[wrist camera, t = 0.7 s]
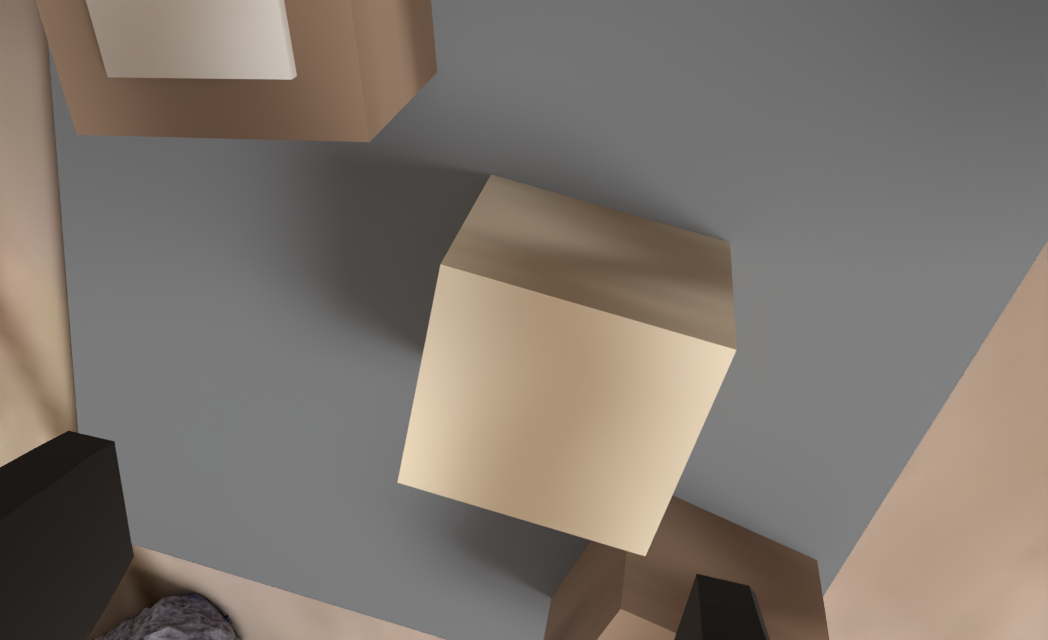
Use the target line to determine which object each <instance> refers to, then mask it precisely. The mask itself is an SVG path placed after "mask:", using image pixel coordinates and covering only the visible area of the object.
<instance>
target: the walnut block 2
mask: <svg viewBox="0 0 1048 640" xmlns="http://www.w3.org/2000/svg"><path fill="white" fill-rule="evenodd" d="M696 574H700V575H705V576H709V577H714V578H718V579H722V580H727V581H731V582H736V583H740V584H744V585H749V586H750V587H751V589H752V590H753V591H754V593H755V594H756V597H757V600H758V604H759V607H760V610H761V613H762V617H763V620H764V623H765V626H766V629H767V632H768V635H769V638H770V640H829V635H828V629H827V622H826V615H825V608H824V602H823V595H822V588H821V582H820V575H819V568H818V562H817V560H815V559H813V558H811V557H809V556H806V555H804V554H802V553H800V552H798V551H795V550H793V549H791V548H789V547H786V546H784V545H782V544H780V543H777V542H775V541H773V540H771V539H769V538H766V537H764V536H762V535H760V534H757V533H755V532H753V531H751V530H749V529H746V528H744V527H742V526H740V525H737V524H735V523H733V522H731V521H729V520H726V519H724V518H722V517H720V516H717V515H715V514H713V513H711V512H709V511H706V510H704V509H702V508H700V507H697V506H695V505H693V504H691V503H689V502H686V501H684V500H682V499H680V498H677V497H675V496H673V495H672V497H671V500H670V502H669V504H668V506H667V509H666V511H665V513H664V515H663V518H662V520H661V522H660V524H659V527H658V529H657V531H656V533H655V536H654V538H653V540H652V543H651V545H650V547H649V549H648V552H647V554H646V556H642V555H639V554H636V553H632V552H629V551H625V550H622V549H619V548H615V547H612V546H609V545H605V544H602V543H599V542H595V541H592V540H591V541H590V543H589V544H588V546H587V547H586V549H585V550H584V551H583V553H582V554H581V556H580V557H579V559H578V560H577V562H576V563H575V565H574V566H573V567H572V569H571V570H570V572H569V573H568V575H567V576H566V578H565V579H564V581H563V582H562V583H561V585H560V586H559V588H558V589H557V591H556V592H555V594H554V595H553V597H552V598H551V603H550V608H549V613H548V618H547V624H546V629H545V634H544V640H674V639H675V636H676V633H677V630H678V627H679V624H680V621H681V618H682V615H683V612H684V609H685V606H686V603H687V600H688V598H689V595H690V592H691V589H692V586H693V583H694V580H695V577H696Z"/></svg>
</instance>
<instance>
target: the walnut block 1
mask: <svg viewBox="0 0 1048 640" xmlns="http://www.w3.org/2000/svg"><path fill="white" fill-rule="evenodd" d="M35 2H36V5H37V9H38V12H39V15H40V18H41V22H42V25H43V28H44V31H45V34H46V38H47V41H48V44H49V47H50V51H51V54H52V57H53V60H54V63H55V67H56V70H57V73H58V76H59V79H60V83H61V86H62V89H63V92H64V96H65V99H66V102H67V105H68V108H69V112H70V115H71V118H72V121H73V125H74V128H75V131H76V134H77V135H103V136H142V137H182V138H222V139H262V140H302V141H342V142H370V141H371V140H372V139H373V138H374V137H375V136H376V135H377V134H378V133H379V132H380V131H381V130H382V129H383V128H384V127H385V126H386V125H387V124H388V123H389V122H390V121H391V120H392V119H393V117H394V116H395V115H396V114H397V113H398V112H399V111H400V110H401V109H402V108H403V107H404V106H405V105H406V104H407V103H408V102H409V101H410V100H411V99H412V98H413V97H414V96H415V95H416V94H417V93H418V92H419V91H420V90H421V89H422V88H423V87H424V85H425V84H426V83H427V82H428V81H429V80H430V79H431V78H432V77H433V76H434V75H435V74H436V73H437V63H436V52H435V40H434V29H433V17H432V6H431V0H35Z"/></svg>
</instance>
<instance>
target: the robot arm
mask: <svg viewBox="0 0 1048 640" xmlns="http://www.w3.org/2000/svg"><path fill="white" fill-rule="evenodd" d="M133 557H134V555H133V549H132V543H131V537H130V531H129V525H128V519H127V513H126V507H125V501H124V495H123V489H122V483H121V477H120V471H119V465H118V459H117V453H116V447H115V441H111V440H107V439H102V438H98V437H93V436H89V435H85V434H80V433H76V432H72V431H67V432H65V433H63V434H62V435H60V436H58V437H56V438H54V439H52V440H50V441H48V442H46V443H44V444H42V445H40V446H38V447H37V448H35V449H33V450H31V451H29V452H27V453H26V454H24V455H22V456H20V457H18V458H17V459H15V460H13V461H11V462H9V463H8V464H6V465H4V466H2V467H0V640H86V638H87V637H88V636H89V634H90V633H91V631H92V630H93V628H94V626H95V625H96V623H97V621H98V620H99V618H100V616H101V614H102V613H103V611H104V609H105V608H106V606H107V604H108V603H109V601H110V599H111V598H112V596H113V594H114V592H115V590H116V588H117V587H118V585H119V583H120V581H121V579H122V577H123V576H124V574H125V572H126V570H127V568H128V567H129V565H130V563H131V561H132V559H133ZM674 640H770V638H769V635H768V632H767V629H766V626H765V623H764V620H763V617H762V613H761V610H760V607H759V604H758V600H757V597H756V594H755V593H754V591H753V590H752V589H751V587H750V586H749V585H744V584H740V583H736V582H731V581H727V580H722V579H718V578H714V577H709V576H705V575H700V574H696V577H695V580H694V583H693V586H692V589H691V592H690V595H689V598H688V600H687V603H686V606H685V609H684V612H683V615H682V618H681V621H680V624H679V627H678V630H677V633H676V636H675V639H674Z"/></svg>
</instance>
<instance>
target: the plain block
mask: <svg viewBox="0 0 1048 640" xmlns="http://www.w3.org/2000/svg"><path fill="white" fill-rule="evenodd" d="M736 350H737V348H736V332H735V315H734V298H733V282H732V265H731V249H730V242H726V241H723V240H719V239H716V238H712V237H709V236H705V235H702V234H698V233H695V232H691V231H688V230H684V229H681V228H677V227H674V226H670V225H667V224H663V223H660V222H656V221H653V220H649V219H646V218H642V217H639V216H635V215H632V214H628V213H625V212H621V211H618V210H614V209H611V208H607V207H604V206H600V205H597V204H593V203H590V202H586V201H583V200H579V199H576V198H572V197H569V196H565V195H562V194H558V193H555V192H551V191H548V190H544V189H541V188H537V187H534V186H530V185H527V184H523V183H520V182H516V181H513V180H509V179H506V178H502V177H499V176H495V175H492V174H491V175H490V177H489V179H488V181H487V183H486V184H485V186H484V188H483V190H482V191H481V193H480V195H479V197H478V199H477V200H476V202H475V204H474V206H473V207H472V209H471V211H470V213H469V215H468V216H467V218H466V220H465V222H464V223H463V225H462V227H461V229H460V231H459V232H458V234H457V236H456V238H455V239H454V241H453V243H452V245H451V246H450V248H449V250H448V252H447V254H446V255H445V257H444V259H443V261H442V262H441V264H440V269H439V274H438V279H437V285H436V290H435V295H434V300H433V305H432V310H431V315H430V320H429V325H428V330H427V335H426V340H425V345H424V350H423V355H422V361H421V366H420V371H419V376H418V381H417V386H416V391H415V396H414V401H413V406H412V411H411V416H410V421H409V426H408V431H407V437H406V442H405V447H404V452H403V457H402V462H401V467H400V472H399V477H398V482H397V483H401V484H404V485H407V486H411V487H414V488H417V489H421V490H424V491H427V492H431V493H434V494H437V495H441V496H444V497H448V498H451V499H454V500H458V501H461V502H464V503H468V504H471V505H474V506H478V507H481V508H484V509H488V510H491V511H495V512H498V513H501V514H505V515H508V516H511V517H515V518H518V519H521V520H525V521H528V522H531V523H535V524H538V525H542V526H545V527H548V528H552V529H555V530H558V531H562V532H565V533H568V534H572V535H575V536H578V537H582V538H585V539H589V540H592V541H595V542H599V543H602V544H605V545H609V546H612V547H615V548H619V549H622V550H625V551H629V552H632V553H636V554H639V555H642V556H646V554H647V552H648V549H649V547H650V545H651V543H652V540H653V538H654V536H655V533H656V531H657V529H658V527H659V524H660V522H661V520H662V518H663V515H664V513H665V511H666V509H667V506H668V504H669V502H670V500H671V497H672V495H673V493H674V490H675V488H676V486H677V484H678V481H679V479H680V477H681V475H682V472H683V470H684V468H685V466H686V463H687V461H688V459H689V457H690V454H691V452H692V450H693V447H694V445H695V443H696V441H697V438H698V436H699V434H700V432H701V429H702V427H703V425H704V423H705V420H706V418H707V416H708V414H709V411H710V409H711V407H712V404H713V402H714V400H715V398H716V395H717V393H718V391H719V389H720V386H721V384H722V382H723V380H724V377H725V375H726V373H727V371H728V368H729V366H730V364H731V361H732V359H733V357H734V355H735V352H736Z"/></svg>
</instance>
